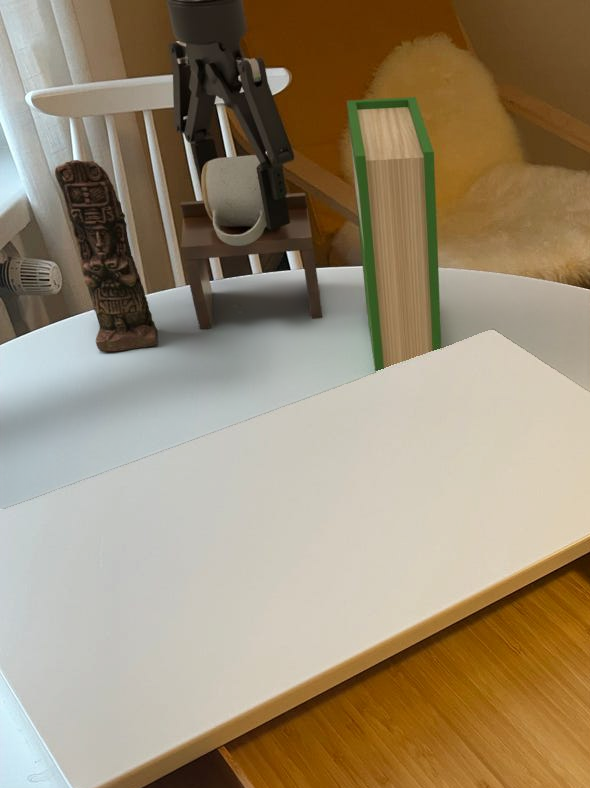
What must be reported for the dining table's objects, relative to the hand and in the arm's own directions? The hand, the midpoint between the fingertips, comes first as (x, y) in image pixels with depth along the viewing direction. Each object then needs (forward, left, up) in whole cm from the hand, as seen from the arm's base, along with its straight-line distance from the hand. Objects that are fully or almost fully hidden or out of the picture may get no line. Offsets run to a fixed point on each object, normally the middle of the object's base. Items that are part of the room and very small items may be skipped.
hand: (246, 213), depth 110 cm
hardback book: (+20, +5, -12) cm, 24 cm away
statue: (-6, -16, -12) cm, 21 cm away
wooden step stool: (-1, 0, -12) cm, 12 cm away
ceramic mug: (0, 0, -2) cm, 2 cm away
